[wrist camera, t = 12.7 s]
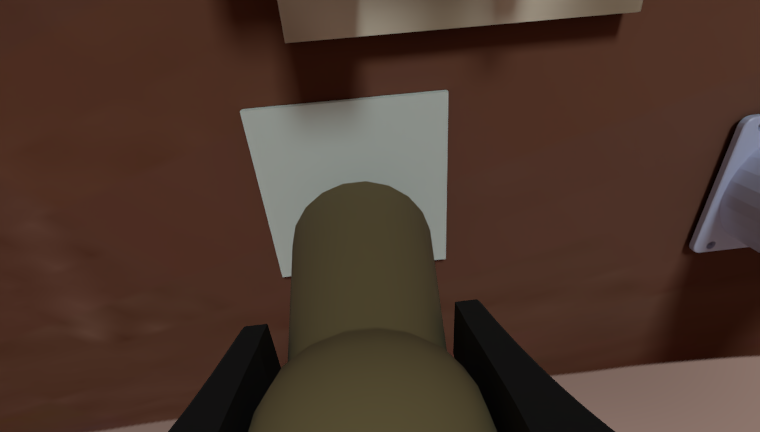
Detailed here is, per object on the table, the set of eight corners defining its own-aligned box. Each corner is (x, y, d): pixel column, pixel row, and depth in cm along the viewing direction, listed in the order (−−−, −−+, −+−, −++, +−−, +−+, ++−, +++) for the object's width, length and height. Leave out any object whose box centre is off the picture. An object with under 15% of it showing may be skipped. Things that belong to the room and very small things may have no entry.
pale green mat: (446, 89, 17) (448, 91, 16) (444, 254, 21) (445, 258, 21) (241, 109, 16) (239, 111, 16) (283, 272, 21) (282, 277, 20)
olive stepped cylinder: (344, 325, 18) (333, 672, 8) (263, 230, 16) (101, 540, 6) (455, 263, 17) (604, 565, 7) (384, 152, 15) (452, 358, 5)
